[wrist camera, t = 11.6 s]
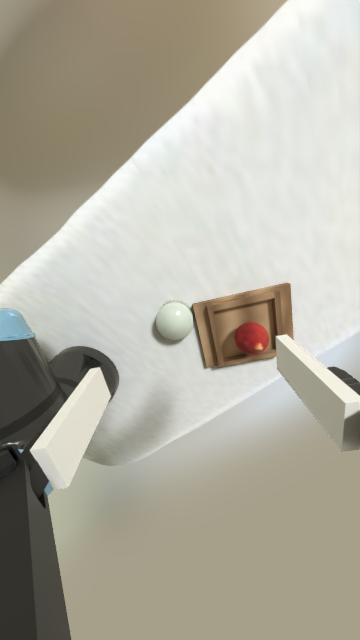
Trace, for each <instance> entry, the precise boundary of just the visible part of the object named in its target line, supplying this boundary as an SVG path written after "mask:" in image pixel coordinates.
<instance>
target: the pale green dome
mask: <svg viewBox="0 0 360 640" xmlns="http://www.w3.org/2000/svg"><path fill="white" fill-rule="evenodd" d="M156 327H157V329H158V331H159V333H160V334H161V335H162V336H164V337H165V338H167V339H171V340H179V339H182V338H184V337H186V336H187V335H188V334H189V333H190V332H191V330H192V328H193V315H192V311H191V309H190V308H189V307H188V306H187V305H186V304H185V303H183V302H181V301H170V302H167V303H165V304H164V305H163V306H162V307H161V308H160V310H159V312H158V315H157V317H156Z"/></svg>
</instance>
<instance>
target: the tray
mask: <svg viewBox="0 0 360 640" xmlns="http://www.w3.org/2000/svg"><path fill="white" fill-rule="evenodd" d="M193 308H194V313H195V317H196V321H197V326H198V330H199V335H200V339H201V344H202V348H203V353H204V357H205V361H206V366H207V368H208V367H213V366H218V365H219V367H224V366H229V365H234V364H240V363H245V362H250V361H256V360H261V359H266V358H271V357H277V356H276V336H280V335H286V334H287V335H288V336H289V337H290V338H291V339H293V322H292V305H291V288H290V284H289V283H284V284H279V285H275V286H270V287H266V288H262V289H257V290H253V291H248V292H244V293H239V294H235V295H230V296H226V297H221V298H217V299H212V300H208V301H203V302H199V303H194V304H193ZM247 322H256V323H258V324H260V325H262V326H263V327H264V328H265V329H266V330H267V332H268V335H269V344H268V346H267V348H266V349H265V350H264V351H263V352H262V353H259V354H256V355H253V354H246V353H243V352H241V350H240V349H239V348H238V347H237V346H236V344H235V338H234V336H235V332H236V330H237V329H238V327H239V326H241V325H242V324H244V323H247ZM293 340H294V339H293Z"/></svg>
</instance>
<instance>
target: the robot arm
mask: <svg viewBox="0 0 360 640" xmlns="http://www.w3.org/2000/svg"><path fill="white" fill-rule="evenodd" d="M35 337H36V335H35V333H32V331H31V329H30V328H29V326H28V324H27V323H26V321H25V319H24V318H23V316H22V315H21V314H20V313H19V312H18V311H16V310H13V309H9V308H1V309H0V640H71V636H70V630H69V624H68V618H67V612H66V606H65V600H64V594H63V588H62V582H61V576H60V570H59V564H58V558H57V552H56V546H55V540H54V534H53V528H52V522H51V516H50V511H49V504H48V498H47V496H48V495H49V494H50V493H51V492H52V491H53V489H54V490H55V489H62V488H68V487H69V485H70V483H71V480H72V478H73V476H74V474H75V472H76V470H77V468H78V465H79V463H80V461H81V459H82V457H83V455H84V453H85V451H86V449H87V447H88V444H89V442H90V440H91V438H92V436H93V434H94V432H95V430H96V427H97V425H98V423H99V421H100V419H101V417H102V415H103V413H104V410H105V408H106V406H107V404H108V402H110V400H111V399H112V398H113V396H114V394H115V392H116V390H117V388H118V385H119V375H118V371H117V369H116V367H115V365H114V364H113V362H112V361H111V360H110V359H109V358H108V357H107V356H106V355H104V354H103V353H101V352H100V351H98V350H95V349H93V348H89V347H83V346H76V347H70V348H67V349H65V350H63V351H62V352H60V353H59V354H58V355H57V356H55V357H54V358H53V359H52V360H51V362H50V363H49V364H48V362H47V360H46V358H45V356H44V354H43V352H42V350H41V348H40V346H39V344H38V342H37V340H36V338H35ZM276 356H277V369H278V371H279V372H280V373H281V375H282V376H283V377H284V378H285V380H286V381H287V382H288V383H289V385H290V386H291V387H292V389H293V390H294V391H295V393H296V394H297V395H298V396H299V398H300V399H301V400H302V402H303V403H304V404H305V405H306V407H307V408H308V409H309V411H310V412H311V413H312V414H313V415H314V417H315V418H316V419H317V421H318V422H319V423H320V425H321V426H322V427H323V428H324V430H325V431H326V432H327V433H328V435H329V436H330V438H331V439H332V440H333V441H334V442H335V444H336V445H337V447H338V448H339V449H340V450H341V452H342V451H350V450H358V449H359V447H360V383H359V382H358V381H357V380H356V379H354V378H353V377H352V376H351V375H349V374H348V373H347V372H345V371H344V370H341V369H339V368H337V367H328V368H326V367H325V366H323V365H322V364H321V363H320V362H319V361H318V360H316V359H315V358H314V357H313V356H312V355H310V354H309V353H308V352H307V351H306V350H305V349H303V348H302V347H301V346H300V345H299V344H297V343H296V342H295V341H294V340H293V339H291V338H290V337H289V336H288V335H287V334H286V335H280V336H276Z"/></svg>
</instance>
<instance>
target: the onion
mask: <svg viewBox="0 0 360 640" xmlns="http://www.w3.org/2000/svg"><path fill="white" fill-rule="evenodd" d="M234 338H235V344H236V346H237V347H238V348H239V349H240V350H241V352H243V353H246V354H253V355H256V354H259V353H262V352H263V351H264V350H265V349H266V348H267V346H268V344H269V335H268V332H267V330H266V329H265V328H264V327H263V326H262V325H260V324H258V323H256V322H247V323H244V324H242V325H241V326H239V327H238V329H237V330H236V332H235V336H234Z"/></svg>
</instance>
